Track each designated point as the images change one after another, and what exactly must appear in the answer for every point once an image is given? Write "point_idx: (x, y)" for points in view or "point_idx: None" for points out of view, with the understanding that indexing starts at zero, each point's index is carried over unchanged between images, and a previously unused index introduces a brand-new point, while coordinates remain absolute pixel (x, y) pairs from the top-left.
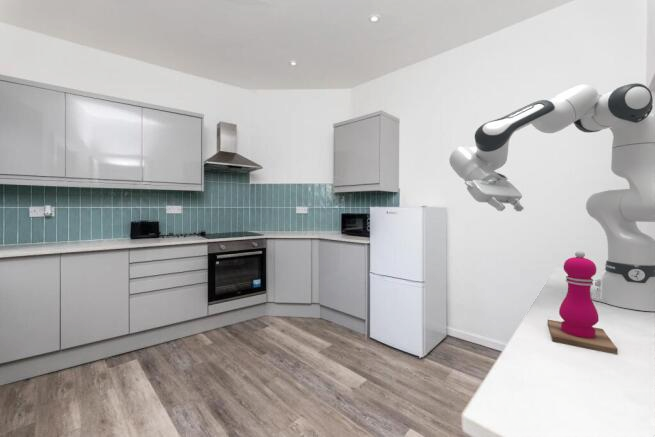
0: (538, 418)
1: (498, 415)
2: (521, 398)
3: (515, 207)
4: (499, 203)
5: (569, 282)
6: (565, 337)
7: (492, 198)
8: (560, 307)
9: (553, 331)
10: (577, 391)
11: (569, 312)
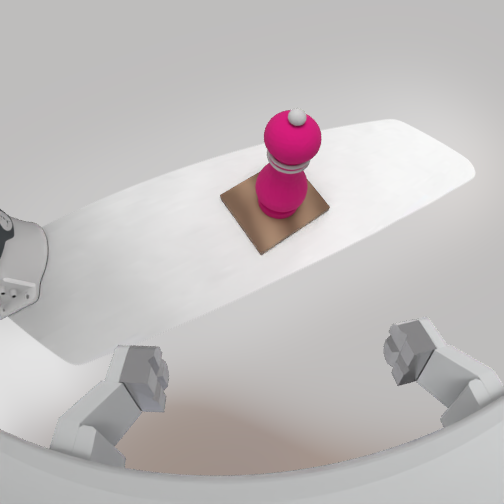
0: (446, 153)
1: (465, 166)
2: (444, 167)
3: (160, 396)
4: (444, 343)
5: (309, 161)
6: (316, 197)
7: (495, 378)
8: (299, 201)
9: (310, 216)
10: (401, 151)
11: (307, 184)
